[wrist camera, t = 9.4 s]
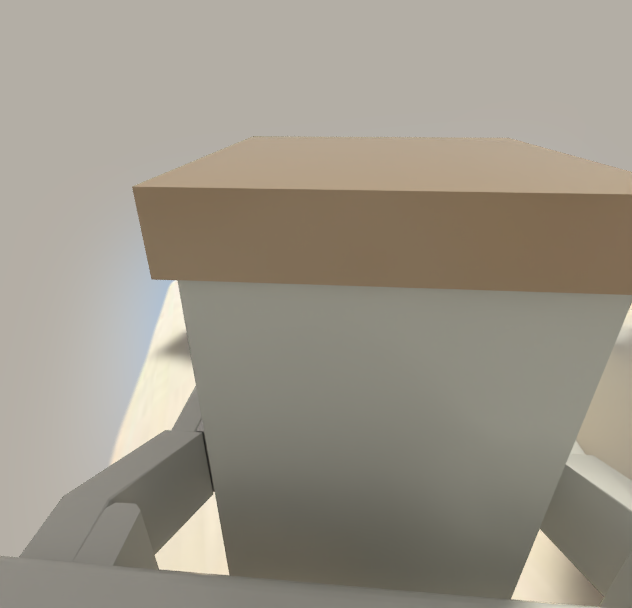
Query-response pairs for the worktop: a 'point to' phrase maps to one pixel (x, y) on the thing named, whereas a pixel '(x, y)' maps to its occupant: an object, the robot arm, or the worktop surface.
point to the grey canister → (391, 345)
